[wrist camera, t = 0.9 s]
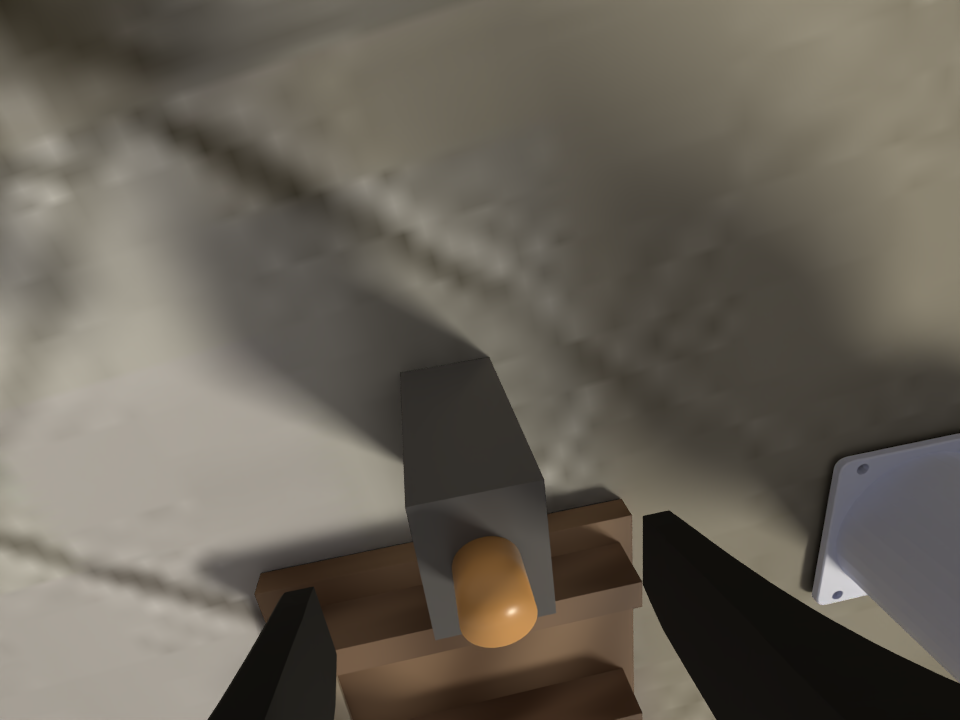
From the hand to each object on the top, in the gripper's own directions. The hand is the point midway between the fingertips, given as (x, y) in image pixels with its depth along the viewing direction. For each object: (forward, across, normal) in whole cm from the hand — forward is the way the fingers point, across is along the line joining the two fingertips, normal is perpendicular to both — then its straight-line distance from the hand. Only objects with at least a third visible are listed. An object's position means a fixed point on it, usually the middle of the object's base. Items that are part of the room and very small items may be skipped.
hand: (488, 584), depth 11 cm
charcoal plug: (+8, 0, 0) cm, 8 cm away
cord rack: (+8, +1, +14) cm, 16 cm away
